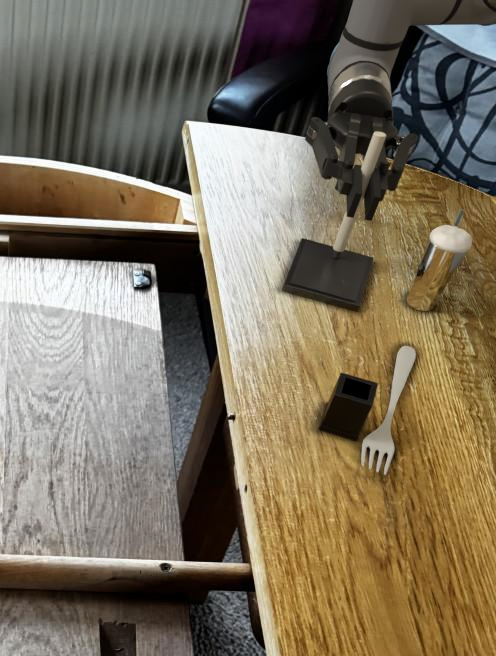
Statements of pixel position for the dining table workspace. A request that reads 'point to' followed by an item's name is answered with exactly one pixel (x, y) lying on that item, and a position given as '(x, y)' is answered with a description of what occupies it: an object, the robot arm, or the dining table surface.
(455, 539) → the dining table surface
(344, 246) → the stylus
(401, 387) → the fork
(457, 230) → the milkshake
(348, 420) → the pen stand
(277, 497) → the dining table surface
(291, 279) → the tablet
